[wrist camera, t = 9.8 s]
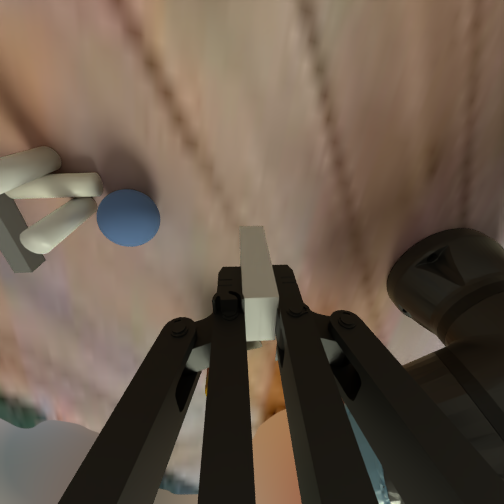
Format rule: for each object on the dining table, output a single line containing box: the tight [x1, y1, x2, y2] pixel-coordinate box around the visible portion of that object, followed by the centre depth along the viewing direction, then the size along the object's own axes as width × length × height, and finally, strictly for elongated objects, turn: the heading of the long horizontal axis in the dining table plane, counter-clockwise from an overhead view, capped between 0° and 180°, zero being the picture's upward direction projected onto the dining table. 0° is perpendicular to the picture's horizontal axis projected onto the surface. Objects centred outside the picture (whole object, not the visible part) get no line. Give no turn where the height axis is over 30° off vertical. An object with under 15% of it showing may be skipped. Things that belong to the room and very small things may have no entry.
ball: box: [97, 189, 160, 247], centre depth 26 cm, size 6×6×6 cm
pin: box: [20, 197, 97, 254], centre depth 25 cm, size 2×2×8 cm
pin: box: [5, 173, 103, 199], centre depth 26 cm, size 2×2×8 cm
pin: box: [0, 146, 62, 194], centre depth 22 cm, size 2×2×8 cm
